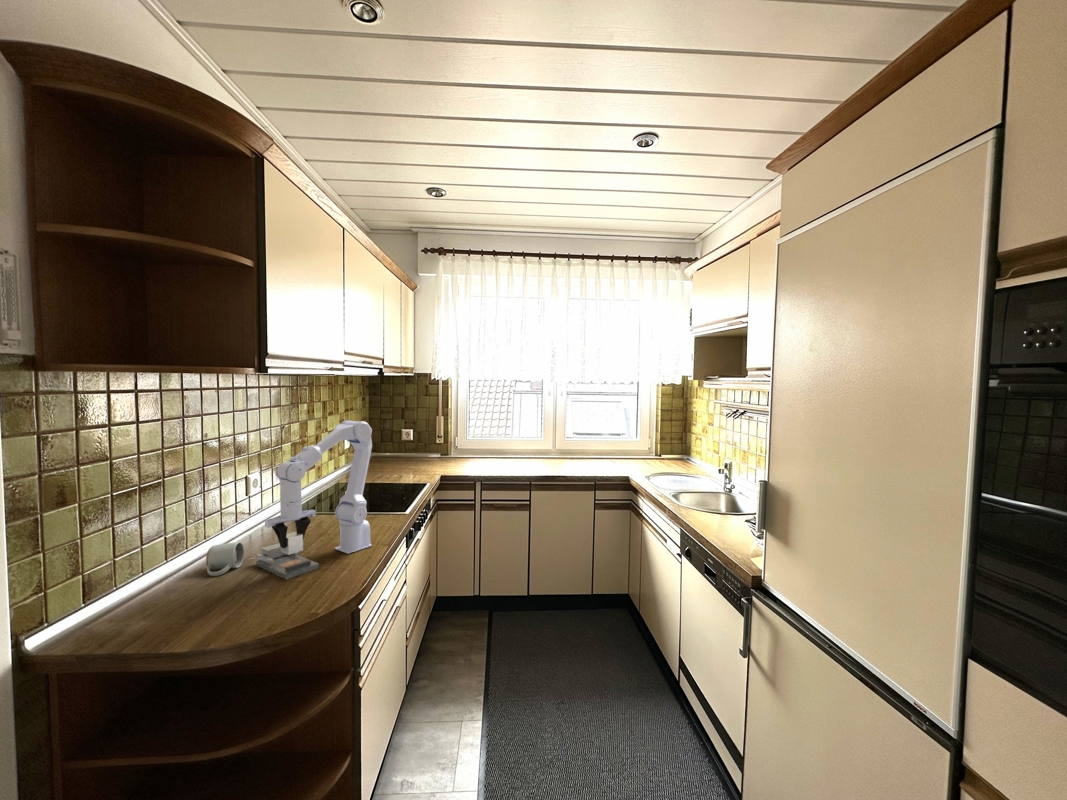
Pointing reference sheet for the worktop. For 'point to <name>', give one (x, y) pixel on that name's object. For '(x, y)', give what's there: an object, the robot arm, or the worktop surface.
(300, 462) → the robot arm
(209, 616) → the worktop surface
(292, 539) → the white rectangular block
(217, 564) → the ceramic mug
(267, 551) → the block
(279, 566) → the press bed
